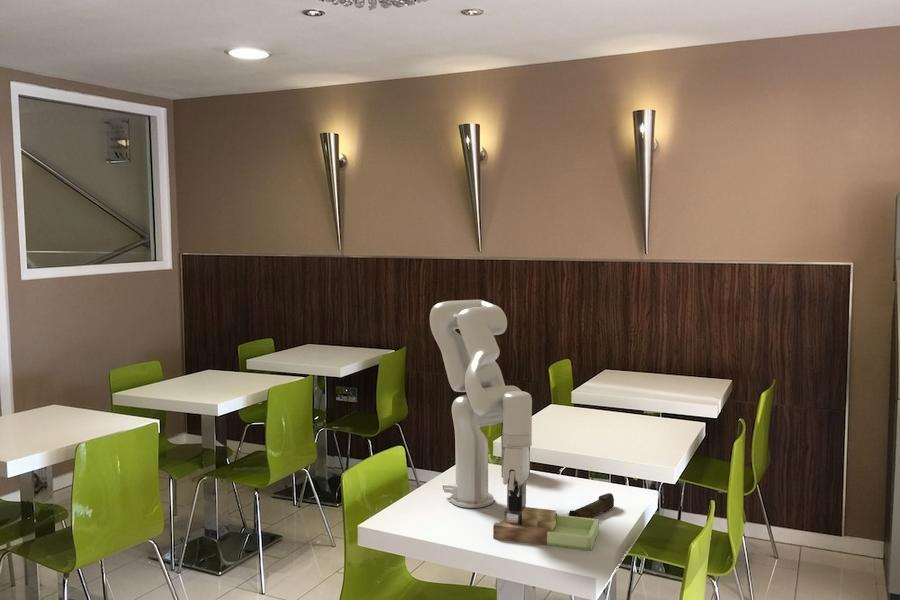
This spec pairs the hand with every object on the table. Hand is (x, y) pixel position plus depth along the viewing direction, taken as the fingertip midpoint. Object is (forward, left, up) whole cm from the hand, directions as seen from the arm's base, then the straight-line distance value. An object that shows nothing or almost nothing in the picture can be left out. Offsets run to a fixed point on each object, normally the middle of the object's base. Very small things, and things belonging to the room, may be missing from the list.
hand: (517, 507), depth 201 cm
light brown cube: (+4, 0, -4) cm, 6 cm away
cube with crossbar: (0, 0, -4) cm, 4 cm away
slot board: (+2, 0, -6) cm, 7 cm away
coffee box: (-12, +46, -7) cm, 48 cm away
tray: (+15, 0, -6) cm, 16 cm away
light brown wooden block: (+8, 0, -4) cm, 9 cm away
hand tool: (+17, +18, -7) cm, 26 cm away
